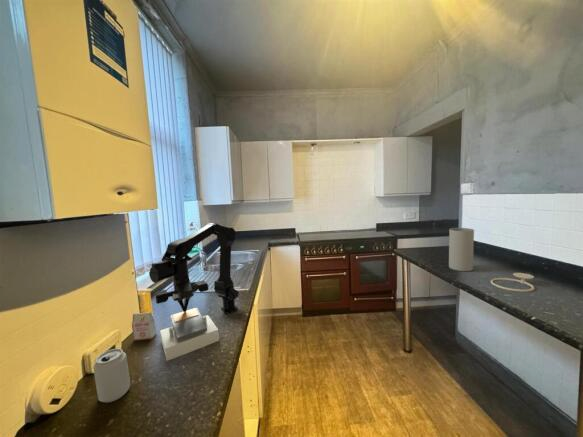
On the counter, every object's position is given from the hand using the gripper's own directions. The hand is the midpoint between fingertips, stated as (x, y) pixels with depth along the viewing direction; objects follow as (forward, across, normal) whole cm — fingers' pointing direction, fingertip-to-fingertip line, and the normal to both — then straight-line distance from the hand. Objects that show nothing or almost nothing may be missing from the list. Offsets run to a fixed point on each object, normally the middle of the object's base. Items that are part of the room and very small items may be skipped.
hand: (184, 311), depth 97 cm
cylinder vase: (+10, +156, -35) cm, 160 cm away
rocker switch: (+2, 0, -5) cm, 6 cm away
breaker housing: (+10, 0, -5) cm, 11 cm away
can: (+10, -23, -18) cm, 31 cm away
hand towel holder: (+10, +147, -63) cm, 161 cm away
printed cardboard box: (+10, -14, +10) cm, 20 cm away
